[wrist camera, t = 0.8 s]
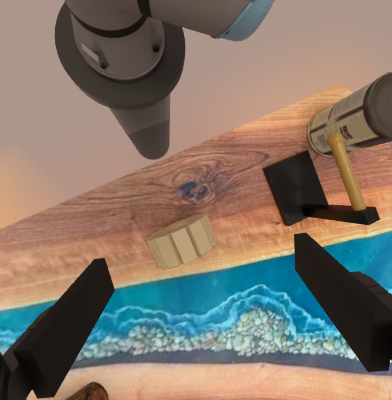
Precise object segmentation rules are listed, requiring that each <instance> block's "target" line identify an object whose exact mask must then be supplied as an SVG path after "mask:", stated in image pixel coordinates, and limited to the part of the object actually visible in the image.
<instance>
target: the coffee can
mask: <svg viewBox="0 0 392 400" xmlns="http://www.w3.org/2000/svg"><path fill="white" fill-rule="evenodd" d="M334 132H338V133H341V134H342V136H343V143H344V146H345V149H346V152H351V151H355V150H359V149H363V148H367V147H371V146H375V145H378V144H382V143H386V142H390V141H392V72H389V73H386V74H384V75H382V76H381V77H380V78H378V79H376V80H375V81H374V82H372V83H370V84H369V85H367V86H365V87H363V88H362V89H360V90H358V91H356V92H355V93H353V94H351V95H349V96H348V97H346V98H344V99H342V100H341V101H339V102H337V103H335V104H334V105H332V106H330V107H329V108H327V109H325V110H323V111H321V112H319V113H317V114H316V115H315V116H314V117H313V118H312V119H311V121H310V123H309V126H308V130H307V136H308V140H309V143H310V145H311V147H312V148H313V149H314V151H315V152H317V153H318V154H320V155H322V156H325V157H334V155H333V153H332V150H331V147H330V145H328V144H327V137H328V136H329V135H330V134H331V133H334Z"/></svg>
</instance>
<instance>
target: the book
mask: <svg viewBox="0 0 392 400" xmlns="http://www.w3.org/2000/svg"><path fill="white" fill-rule="evenodd" d="M66 400H108V395H107V392H106V390H105V389H104V388H103V387H102V386H101V385H100V384H98V383H95V382H91V383H90V384H88V385H87V386H85V387H84V388H82V389H81V390H79V391H78V392H77V393H75V394H74V395H72V396H71V397H69V398H68V399H66Z"/></svg>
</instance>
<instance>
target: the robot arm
mask: <svg viewBox="0 0 392 400" xmlns="http://www.w3.org/2000/svg"><path fill="white" fill-rule="evenodd" d="M274 1H275V0H65V2H66V4H67V5H68V7H69V9H70V12H71V18H72V25H73V31H74V38H75V42H76V45H77V47H78V49H79V51H80V53H81V55H82V56H83V58H84V60H85V61H86V63H87V64H88V65H89V66H90V68H91V69H92V70H93V71H95V72H96V73H97V74H98V75H100V76H101V77H103V78H105V79H107V80H110V81H113V82H117V83H134V82H138V81H141V80H143V79H145V78H147V77H149V76H150V75H151V74H152V73H153V72H154V71H155V70H156V69H157V68H158V66H159V65H160V63H161V61H162V58H163V55H164V49H165V37H164V29H163V25H162V22H161V21H164V22H167V23H170V24H174V25H177V26H180V27H184V28H187V29H190V30H194V31H197V32H201V33H204V34H207V35H210V36H211V37H212V38H214V39H216V38H217V39H219V38H224V39H227V40H232V41H242V40H244V39H247V38H248V37H249V36H251V34H253V32H255V30H256V29H257V28H258V27H259V25H260V24H261V22H262V21H263V20H264V18H265V16H266V15H267V13H268V11H269V10H270V8H271V6H272V4H273V2H274ZM294 246H295V270H296V272H297V273H298V275H299V276H300V277H301V279H302V280H303V282H304V283H305V284H306V286H307V287H308V289H309V290H310V291H311V293H312V294H313V296H314V297H315V298H316V300H317V301H318V303H319V304H320V305H321V307H322V308H323V310H324V311H325V312H326V314H327V315H328V317H329V318H330V319H331V321H332V322H333V324H334V325H335V326H336V328H337V329H338V331H339V332H340V333H341V335H342V336H343V338H344V339H345V340H346V342H347V343H348V345H349V346H350V347H351V349H352V350H353V352H354V353H355V354H356V356H357V357H358V359H359V360H360V361H361V363H362V364H363V366H364V367H365V368H366V370H367V371H368V372H376V371H388V370H389V364H390V359H391V360H392V294H391V293H388V291H387V290H386V289H384V288H383V287H381V286H380V284H378V283H377V282H376V281H375V280H373V279H372V278H371V277H369V276H367V275H365V274H363V273H361V272H359V271H357V272H349V271H348V270H347V269H346V268H345V267H344V266H342V265H341V264H340V263H339V262H338V261H337V260H336V259H335V258H334V257H332V256H331V255H330V254H329V253H328V252H327V251H326V250H325V249H324V248H322V247H321V246H320V245H319V244H318V243H317V242H316V241H315V240H314V239H312V238H311V237H310V236H309V235H308V234H307V233H300V234H294ZM114 291H115V289H114V286H113V283H112V280H111V276H110V273H109V270H108V267H107V264H106V261H105V258H100V259H94V260H93V261H92V262H91V264H90V265H89V266H88V267H87V268H86V269H85V270H84V271H83V273H82V274H81V275H80V276H79V277H78V278H77V279H76V280H75V282H74V283H73V284H72V285H71V286H70V287H69V288H68V290H67V291H66V292H65V293H64V294H63V295H62V296H61V297H60V299H59V300H58V301H57V302H56V303H55V304H54V305H53V306H50V307H49V308H48V309H47V310H45V311H44V312H43V313H41V314H40V315H39V316H38V317H37V318H36V320H35V321H34V322H33V324H31V325H30V326H29V327H28V328H27V329H26V331H25V332H24V333H23V334H22V335H21V336H20V337H19V338H18V339H17V340H16V341H15V343H14V344H13V345H12V346H11V347H10V348H9V349H8V350H7V351H6V352H5V353H4V355H3V356H2V354H1V352H0V400H27V399H26V398H27V396H28V395H29V393H30V392H31V390H32V389H33V391H34V393H35V395H36V397H37V398H50V397H54V396H55V394H56V393H57V391H58V389H59V387H60V386H61V384H62V382H63V380H64V379H65V377H66V375H67V373H68V372H69V370H70V368H71V366H72V365H73V363H74V361H75V359H76V358H77V356H78V354H79V352H80V351H81V349H82V347H83V345H84V344H85V342H86V340H87V338H88V337H89V335H90V333H91V331H92V330H93V328H94V326H95V324H96V322H97V321H98V319H99V317H100V315H101V314H102V312H103V310H104V308H105V307H106V305H107V303H108V301H109V300H110V298H111V296H112V294H113V293H114Z"/></svg>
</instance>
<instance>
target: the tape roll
mask: <svg viewBox="0 0 392 400" xmlns="http://www.w3.org/2000/svg"><path fill="white" fill-rule="evenodd" d="M146 241H147V244H148V246H149V248H150V250H151V253H152V255H153V257H154V260H155V262H156V264H157V266H158V268H161V269H166V268H168V269H170V268H174V267H178V266H180V265H181V264H182V263H183V264H186V263H189V262H191V261H193V260H195V259H197V258H198V257H197V256H202V255H204V254H205V253H207V252H208V251H209V250H211V249H212V247H214V246H215V245H216V243H217V237H216V235H215V232H214V230H213V228H212V225H211V223H210V220H209V218H208V216H207V214H206V213H200V214H196V215H192V216H190V217H187V218H184V219H183V220H179V221H177V222H174V223H172V224H170V225H168V226H166V227H164V228H162V229H160V230H158V231H157V232H155V233H153V234H152V235H150V236H149V237H147V239H146Z"/></svg>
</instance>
